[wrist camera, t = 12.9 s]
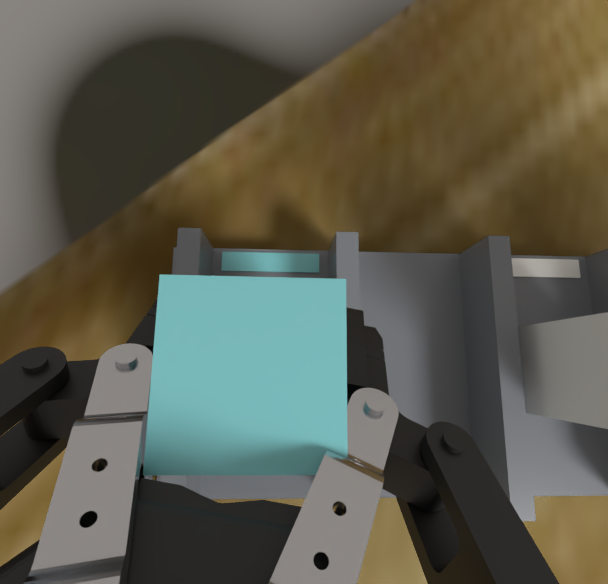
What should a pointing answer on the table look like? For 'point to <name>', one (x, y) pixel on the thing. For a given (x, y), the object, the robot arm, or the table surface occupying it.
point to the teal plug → (247, 376)
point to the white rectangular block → (567, 369)
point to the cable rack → (443, 351)
